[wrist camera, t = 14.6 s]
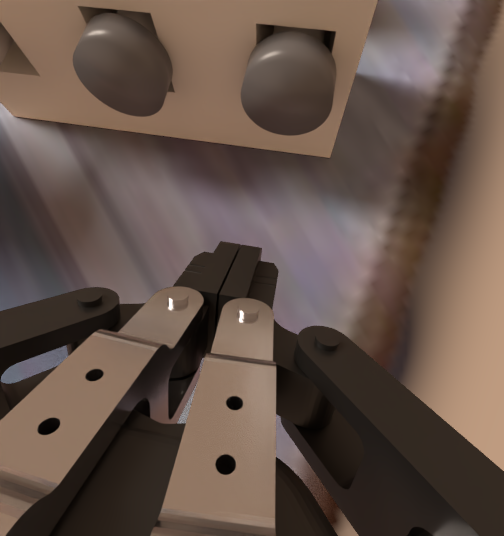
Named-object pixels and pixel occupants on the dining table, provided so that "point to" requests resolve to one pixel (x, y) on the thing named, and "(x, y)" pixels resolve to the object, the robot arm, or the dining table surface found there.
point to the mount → (178, 64)
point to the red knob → (4, 42)
